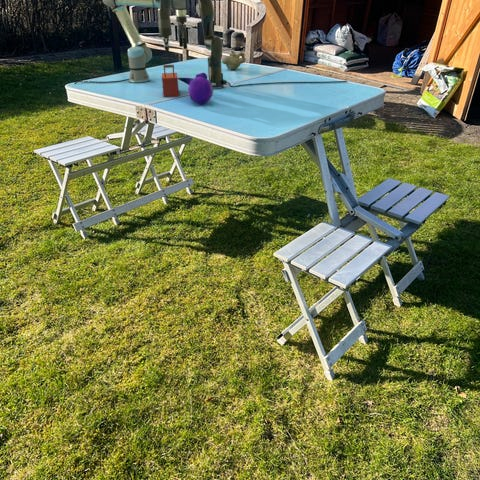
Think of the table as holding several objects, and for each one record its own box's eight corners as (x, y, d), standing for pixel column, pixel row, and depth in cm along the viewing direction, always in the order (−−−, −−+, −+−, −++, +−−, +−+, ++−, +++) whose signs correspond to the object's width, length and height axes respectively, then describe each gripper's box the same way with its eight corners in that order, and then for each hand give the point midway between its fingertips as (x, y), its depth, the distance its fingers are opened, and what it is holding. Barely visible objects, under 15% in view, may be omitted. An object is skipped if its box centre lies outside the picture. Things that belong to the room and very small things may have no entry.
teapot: (225, 71, 366) (225, 52, 358) (219, 69, 374) (218, 50, 367) (248, 69, 375) (247, 49, 367) (241, 67, 383) (240, 48, 376)
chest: (179, 96, 293) (177, 78, 288) (163, 97, 292) (162, 79, 287) (178, 90, 308) (176, 74, 303) (163, 91, 307) (162, 74, 301)
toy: (201, 95, 293) (213, 109, 272) (175, 90, 286) (185, 105, 265) (206, 70, 285) (219, 83, 264) (179, 65, 278) (190, 78, 257)
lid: (177, 79, 287) (176, 65, 283) (162, 79, 286) (160, 66, 282) (176, 73, 303) (175, 60, 298) (162, 74, 301) (160, 61, 297)
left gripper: (190, 17, 316) (192, 49, 327) (182, 14, 336) (184, 45, 347) (179, 17, 314) (182, 50, 325) (172, 15, 334) (175, 46, 345)
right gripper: (171, 27, 268) (173, 56, 277) (170, 25, 280) (173, 53, 289) (158, 28, 267) (161, 57, 276) (158, 26, 280) (161, 54, 288)
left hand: (183, 47), depth 336 cm, fingers open, 13 cm apart
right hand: (167, 55), depth 282 cm, fingers open, 8 cm apart
